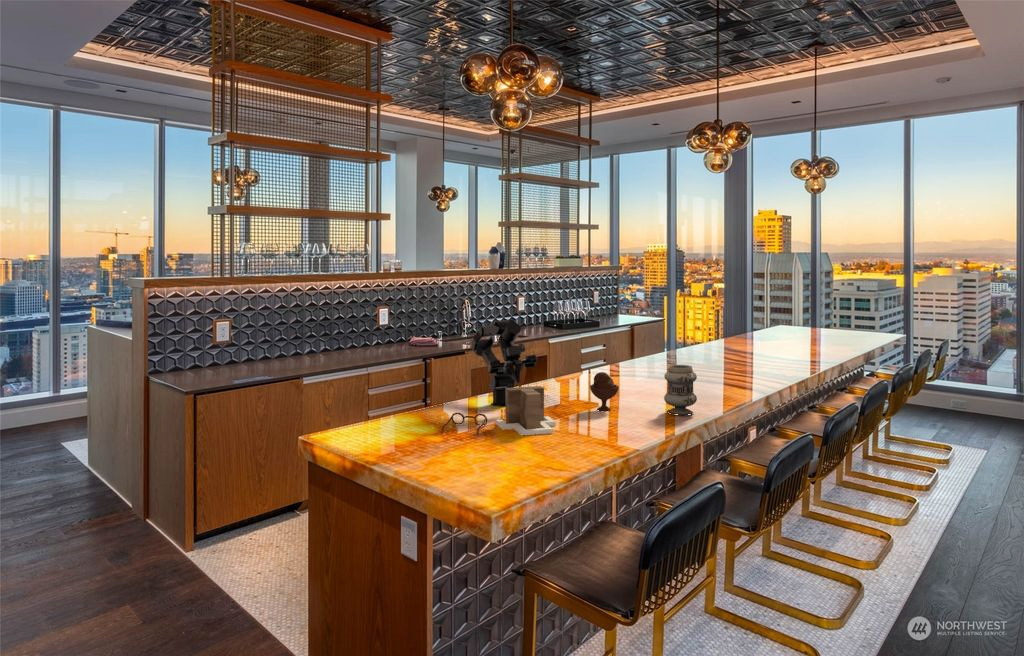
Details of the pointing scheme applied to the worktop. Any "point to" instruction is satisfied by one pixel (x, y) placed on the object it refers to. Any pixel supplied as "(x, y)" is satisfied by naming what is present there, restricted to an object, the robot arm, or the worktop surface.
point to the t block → (525, 406)
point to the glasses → (463, 421)
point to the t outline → (522, 431)
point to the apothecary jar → (680, 389)
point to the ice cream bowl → (603, 389)
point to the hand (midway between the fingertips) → (518, 383)
